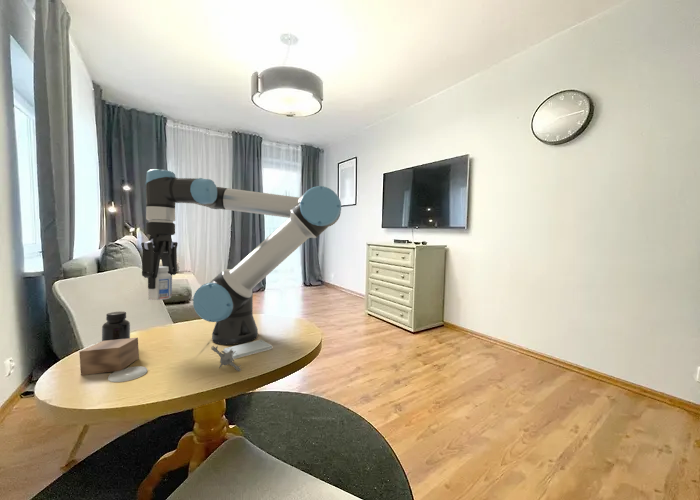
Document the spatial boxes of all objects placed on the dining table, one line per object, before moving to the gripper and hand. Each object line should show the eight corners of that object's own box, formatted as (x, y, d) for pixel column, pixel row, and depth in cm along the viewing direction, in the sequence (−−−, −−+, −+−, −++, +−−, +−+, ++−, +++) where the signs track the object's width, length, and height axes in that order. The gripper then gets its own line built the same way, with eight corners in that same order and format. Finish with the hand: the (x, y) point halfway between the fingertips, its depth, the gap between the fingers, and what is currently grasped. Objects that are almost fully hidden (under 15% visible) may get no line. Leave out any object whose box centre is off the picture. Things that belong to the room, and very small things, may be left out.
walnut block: (138, 358, 85) (137, 337, 85) (120, 370, 76) (119, 347, 76) (103, 362, 83) (102, 340, 83) (80, 375, 75) (79, 351, 74)
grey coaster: (154, 369, 79) (154, 366, 79) (132, 383, 71) (132, 380, 71) (124, 369, 79) (124, 366, 79) (99, 383, 71) (99, 380, 71)
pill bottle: (157, 296, 94) (157, 265, 93) (175, 296, 94) (175, 266, 93) (146, 300, 88) (146, 267, 88) (164, 300, 88) (164, 267, 88)
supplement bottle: (114, 356, 87) (114, 316, 87) (96, 354, 89) (95, 315, 88) (135, 348, 94) (135, 311, 94) (118, 346, 95) (117, 309, 95)
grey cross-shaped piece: (249, 360, 86) (248, 361, 78) (234, 379, 83) (231, 381, 75) (223, 339, 86) (218, 337, 78) (207, 356, 83) (200, 356, 75)
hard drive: (260, 339, 101) (223, 347, 92) (272, 345, 95) (233, 355, 86) (260, 343, 101) (223, 353, 92) (272, 350, 95) (233, 361, 86)
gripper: (167, 223, 99) (167, 292, 100) (125, 219, 81) (125, 303, 82) (189, 223, 99) (189, 292, 100) (152, 220, 81) (152, 304, 82)
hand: (160, 297), depth 91 cm, fingers closed on pill bottle, 5 cm apart
